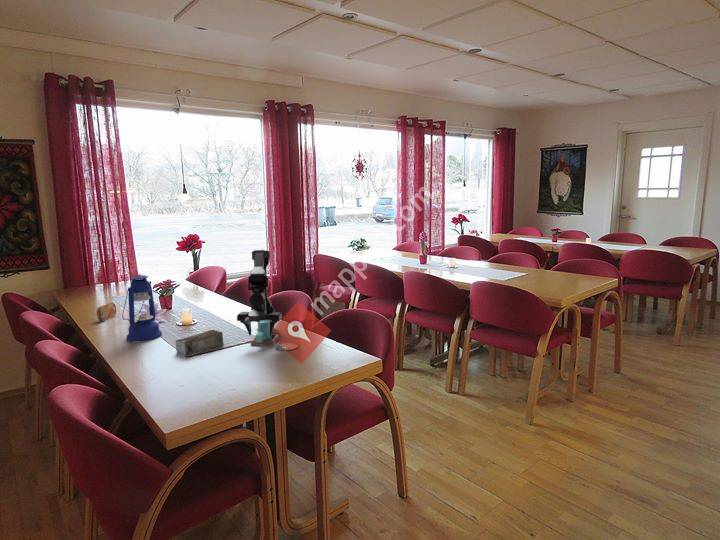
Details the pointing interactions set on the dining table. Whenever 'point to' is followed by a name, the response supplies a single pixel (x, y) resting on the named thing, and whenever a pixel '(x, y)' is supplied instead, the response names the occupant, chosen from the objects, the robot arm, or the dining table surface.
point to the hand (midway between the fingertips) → (260, 335)
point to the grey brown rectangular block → (199, 342)
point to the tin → (106, 311)
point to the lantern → (145, 323)
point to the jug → (263, 331)
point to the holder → (274, 337)
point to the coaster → (283, 347)
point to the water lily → (155, 312)
